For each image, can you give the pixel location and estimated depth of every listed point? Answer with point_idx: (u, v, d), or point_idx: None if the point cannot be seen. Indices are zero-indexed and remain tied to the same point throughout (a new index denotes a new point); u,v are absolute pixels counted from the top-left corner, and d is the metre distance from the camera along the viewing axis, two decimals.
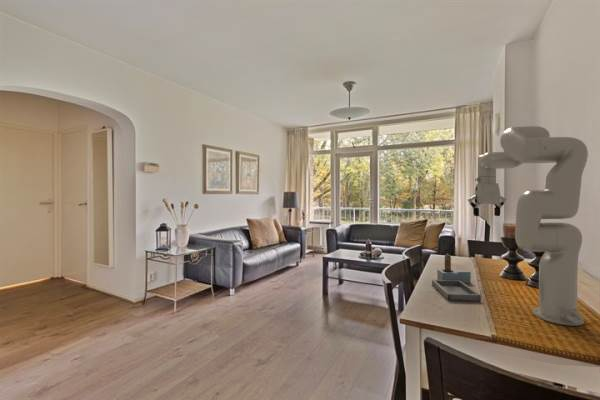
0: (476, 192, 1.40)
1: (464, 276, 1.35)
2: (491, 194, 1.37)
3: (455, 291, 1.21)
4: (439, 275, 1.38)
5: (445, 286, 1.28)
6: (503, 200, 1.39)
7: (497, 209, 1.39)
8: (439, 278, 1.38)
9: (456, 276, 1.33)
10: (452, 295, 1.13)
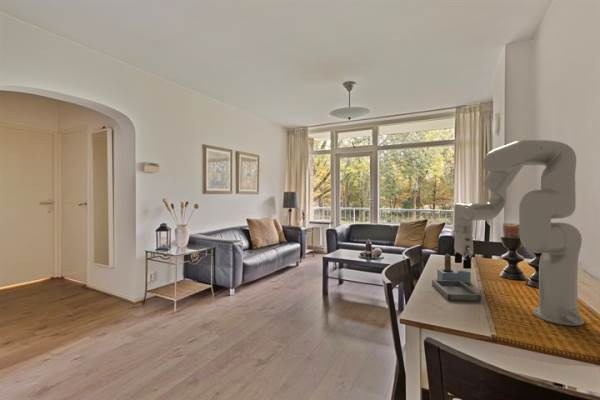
0: (468, 243, 1.31)
1: (464, 276, 1.35)
2: None
3: (455, 291, 1.21)
4: (439, 275, 1.38)
5: (445, 286, 1.28)
6: None
7: (460, 256, 1.41)
8: (439, 278, 1.38)
9: (456, 276, 1.33)
10: (452, 295, 1.13)
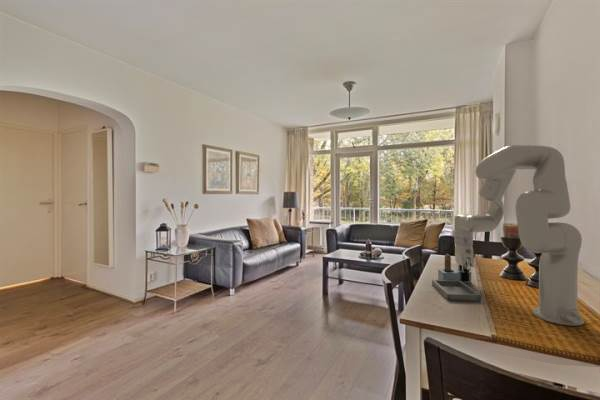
0: (469, 255, 1.31)
1: None
2: None
3: (455, 291, 1.21)
4: (439, 275, 1.38)
5: (445, 286, 1.28)
6: None
7: None
8: (440, 278, 1.38)
9: (457, 276, 1.33)
10: (452, 295, 1.13)
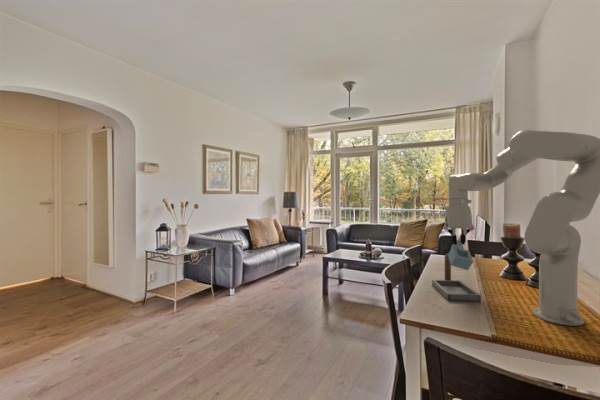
0: None
1: None
2: None
3: (455, 291, 1.21)
4: (459, 262, 1.21)
5: (445, 286, 1.28)
6: None
7: None
8: (458, 265, 1.21)
9: None
10: (452, 295, 1.13)
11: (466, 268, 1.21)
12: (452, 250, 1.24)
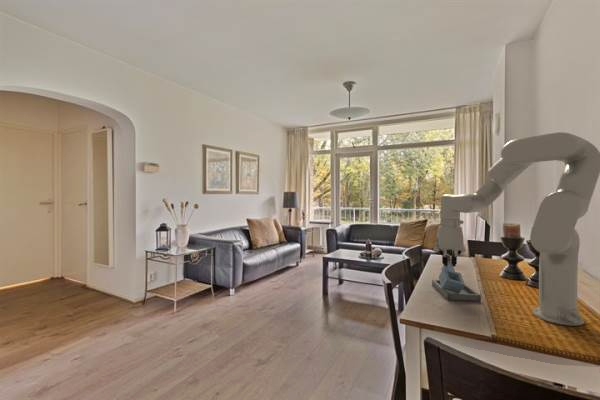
0: None
1: None
2: None
3: None
4: (450, 285, 1.17)
5: None
6: None
7: None
8: (449, 288, 1.18)
9: None
10: (452, 295, 1.13)
11: (457, 291, 1.17)
12: (443, 272, 1.21)
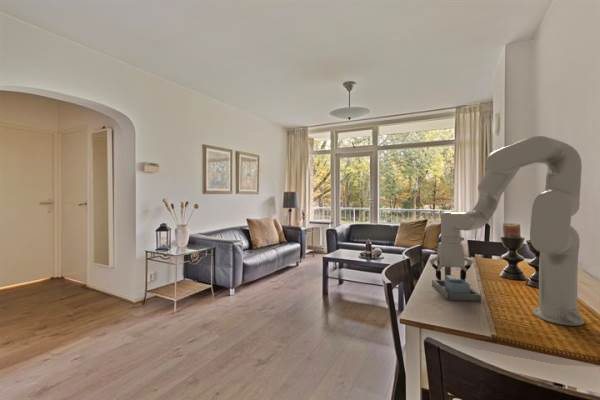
0: None
1: None
2: None
3: None
4: (457, 290, 1.15)
5: None
6: None
7: None
8: (458, 293, 1.15)
9: None
10: (452, 295, 1.13)
11: None
12: (446, 282, 1.20)
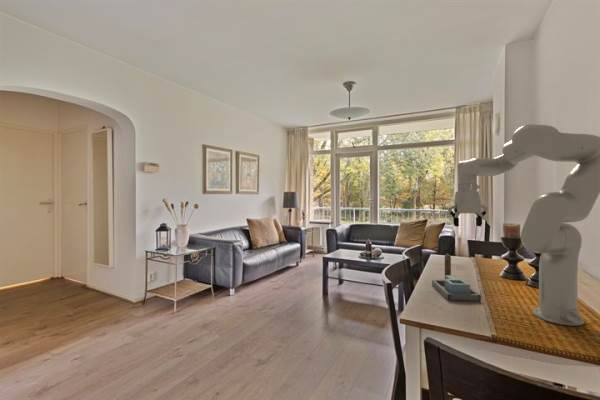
0: None
1: None
2: None
3: None
4: (457, 290, 1.15)
5: None
6: None
7: None
8: (458, 293, 1.15)
9: None
10: (452, 295, 1.13)
11: None
12: (446, 282, 1.20)
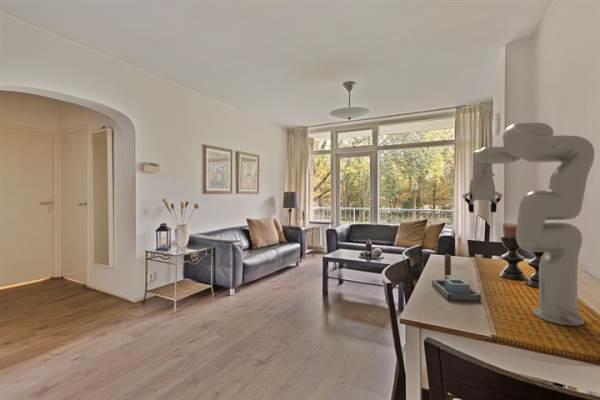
0: None
1: None
2: None
3: None
4: (457, 290, 1.15)
5: None
6: None
7: None
8: (458, 293, 1.15)
9: None
10: (452, 295, 1.13)
11: None
12: (446, 282, 1.20)
